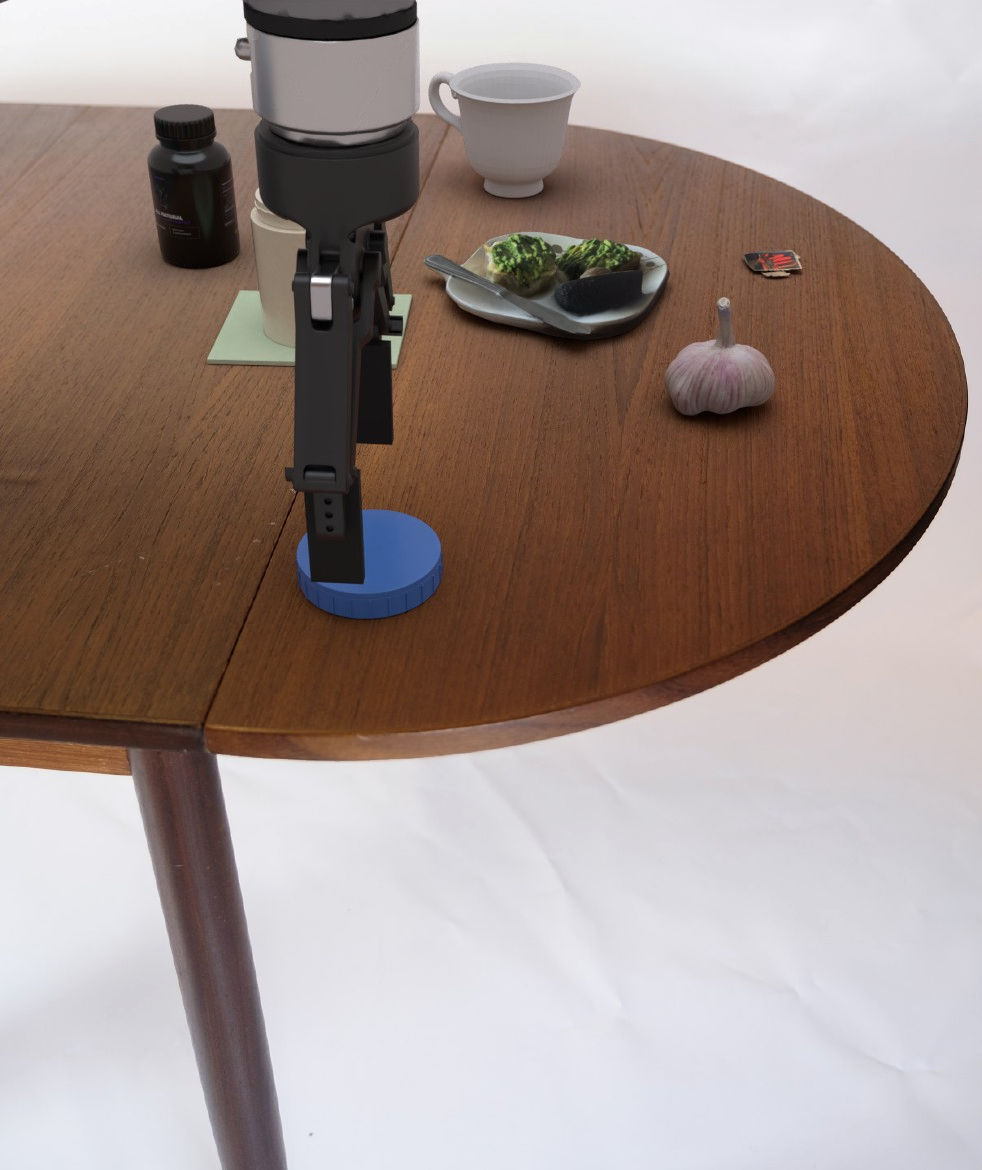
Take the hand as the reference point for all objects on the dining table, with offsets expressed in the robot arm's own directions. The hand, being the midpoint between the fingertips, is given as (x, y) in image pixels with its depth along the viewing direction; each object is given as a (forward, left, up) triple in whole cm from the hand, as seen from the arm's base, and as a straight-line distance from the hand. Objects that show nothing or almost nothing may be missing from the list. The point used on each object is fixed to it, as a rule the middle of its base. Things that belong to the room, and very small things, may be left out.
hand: (355, 505), depth 71 cm
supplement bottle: (-20, +45, -5) cm, 49 cm away
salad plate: (+11, +38, -5) cm, 40 cm away
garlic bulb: (+22, +21, -5) cm, 31 cm away
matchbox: (+29, +45, -5) cm, 54 cm away
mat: (-8, +31, -5) cm, 32 cm away
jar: (-7, +31, -4) cm, 32 cm away
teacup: (+5, +63, -5) cm, 63 cm away
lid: (+1, 0, -3) cm, 3 cm away
